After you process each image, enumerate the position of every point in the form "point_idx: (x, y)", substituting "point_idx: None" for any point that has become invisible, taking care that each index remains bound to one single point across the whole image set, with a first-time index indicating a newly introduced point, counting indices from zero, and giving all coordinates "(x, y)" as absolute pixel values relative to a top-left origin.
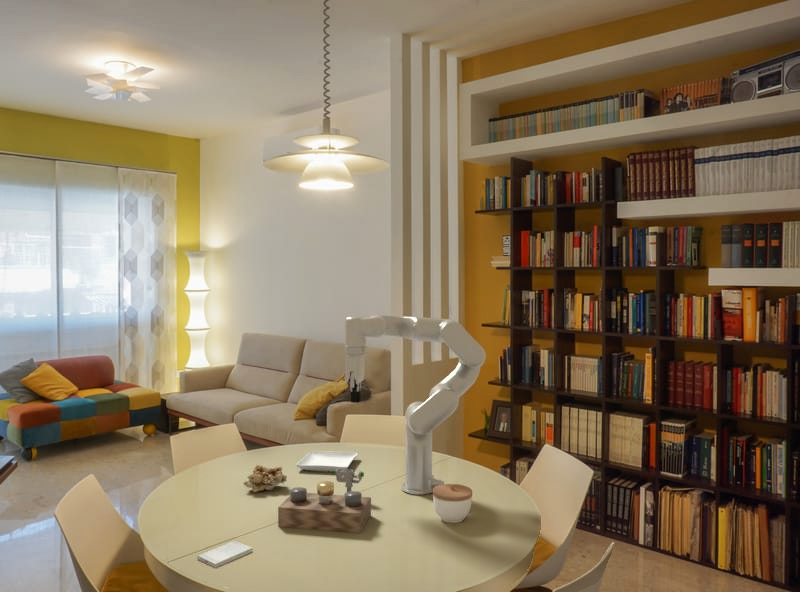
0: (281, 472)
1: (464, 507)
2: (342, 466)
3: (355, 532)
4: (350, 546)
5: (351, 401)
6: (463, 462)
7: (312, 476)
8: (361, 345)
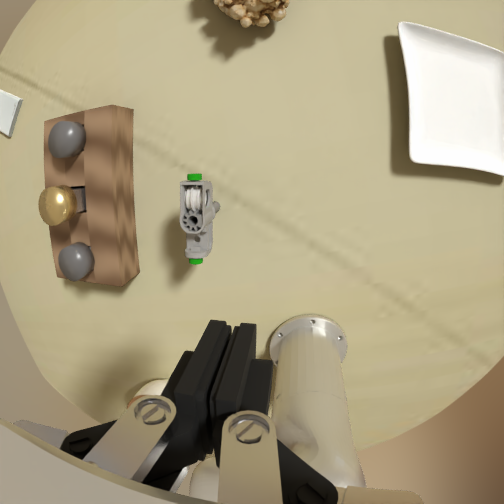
0: (253, 7)
1: None
2: (447, 141)
3: None
4: (45, 260)
5: (211, 325)
6: (461, 392)
7: (370, 71)
8: None
